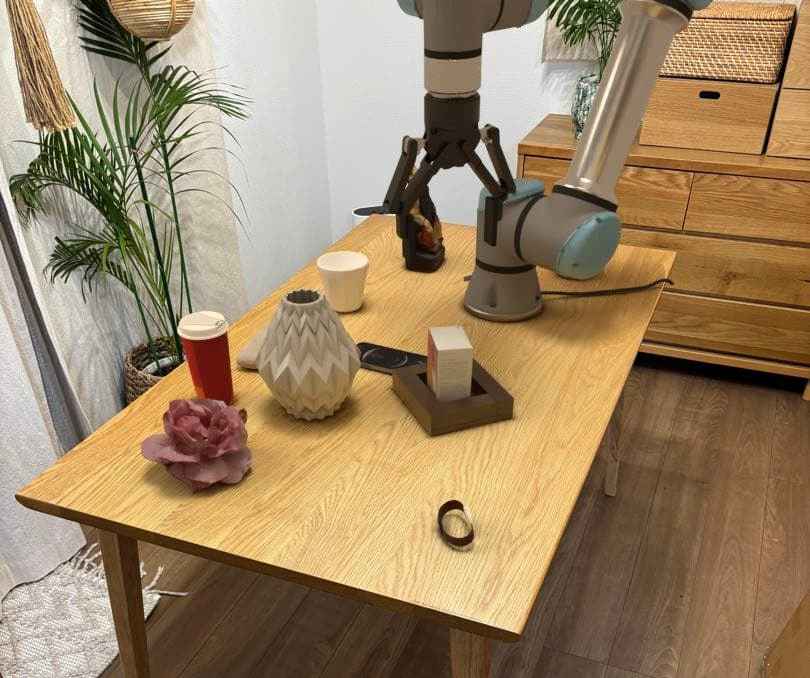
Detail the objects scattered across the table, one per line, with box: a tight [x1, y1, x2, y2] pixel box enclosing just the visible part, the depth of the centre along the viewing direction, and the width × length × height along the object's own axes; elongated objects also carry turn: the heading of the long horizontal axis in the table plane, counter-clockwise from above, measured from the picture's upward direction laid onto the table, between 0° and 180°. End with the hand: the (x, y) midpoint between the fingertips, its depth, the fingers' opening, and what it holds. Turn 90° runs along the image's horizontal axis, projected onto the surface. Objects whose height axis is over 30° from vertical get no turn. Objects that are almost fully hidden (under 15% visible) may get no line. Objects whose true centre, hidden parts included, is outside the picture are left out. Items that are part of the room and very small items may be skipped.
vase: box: [255, 287, 362, 422], centre depth 121 cm, size 16×16×18 cm
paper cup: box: [176, 310, 235, 407], centre depth 124 cm, size 8×8×14 cm
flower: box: [140, 397, 252, 490], centre depth 111 cm, size 15×15×10 cm
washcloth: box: [236, 322, 270, 370], centre depth 140 cm, size 12×18×3 cm, turn 164°
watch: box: [437, 499, 477, 548], centre depth 101 cm, size 8×5×4 cm, turn 12°
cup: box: [316, 250, 370, 314], centre depth 153 cm, size 10×10×9 cm
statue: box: [404, 164, 446, 273], centre depth 167 cm, size 12×8×20 cm, turn 154°
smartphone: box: [355, 341, 428, 374], centre depth 138 cm, size 8×1×15 cm
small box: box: [426, 325, 474, 404], centre depth 123 cm, size 8×6×10 cm
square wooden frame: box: [391, 357, 515, 437], centre depth 126 cm, size 14×16×4 cm
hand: (449, 251), depth 118 cm, fingers open, 13 cm apart
